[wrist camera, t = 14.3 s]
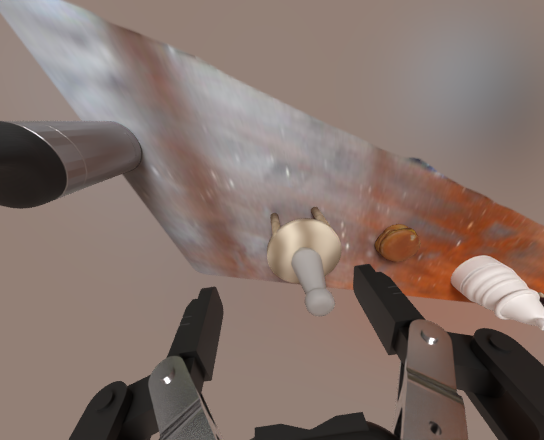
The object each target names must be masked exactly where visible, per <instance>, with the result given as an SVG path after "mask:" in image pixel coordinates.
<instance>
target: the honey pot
mask: <svg viewBox="0 0 544 440" xmlns="http://www.w3.org/2000/svg"><path fill="white" fill-rule="evenodd" d="M451 283H452V285H453V286H454V287H455V288H456V289H457V290H458V291H460V292H461V293H462V294H463V295H464V296H465V297H467V298H468V299H469V300H470V301H472V302H475V303H477V304H479V305H481V306H484V307H485V308H486V309H489V310H492V311H494V313H495V315H496V316H497V317H498V318H501V319H504V320H509V319H513V320H516V321H519V322H522V323H526V324H529V325H534V326H538V327H539V328H540V329H541V330H543V331H544V307H543V305H542V304H541V302H540V301H539V300H540V296H539V294H538V293H537V292H536V291H534V290H531V289H529V288H528V287H527V284H526V283H525V282H524V281H523V280H521V278H520V277H519V276H518V275H517V274H516V273H515V272H514V270H512V269H511V268H509V267H508V266H505V265H504V264H502V263H501V262H499V261H497V260H496V259H494V258H492V257H490V256H484V255H483V256H477V257H474V258H471V259H469V260H467V261H465V262H464V263H462V264H461V265H460V266H459V267H458V268H457V269H456V270H455V271H454V273H453V274H452V277H451Z"/></svg>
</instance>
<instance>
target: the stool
mask: <svg viewBox="0 0 544 440" xmlns="http://www.w3.org/2000/svg"><path fill="white" fill-rule="evenodd" d="M311 213H312V214H313V216H314V218H315V219H310V218H304V219H297V220H294V221H291V222H288V223H286V224H285V225H283V226H281V227H280V223H279V218H278V215H277V214H276V213H273V214H271V224H272V232H273V236H272V237H271V239H270V241H269V243H268V247H267V258H268V263H269V266H270V268H271V270H272V271H273V272H274V274H275V275H277V276H278V277H279V278H281V279H283V280H285V281H287V282H291V283H300V282H299V280H298V278H297V276H296V274H295V272H294V270H293V268H292V265H291V263H292V257H293V255H294V253H295V252H296V251H297V250H298V249H299V248H301V247H306V248H311V249H313V250H315V251H316V252H317V253H318V254H319V255H320V257H321V259H322V264H323V270H324V276H326V275H327V274H329V273H330V272H331V271H332V270H333V269H334V268H335V266H336V265H337V263H338V261H339V259H340V256H341V243H340V240H339V238H338V236H337V234H336V233H335V232H334V230H333V229H332V228H331V227H330V225H329V224H328V222H327V221H326V219H325V218H324V216H323V215H322V213H321V212H320V211H319V209H318V208H317V207H313V208H312V209H311Z"/></svg>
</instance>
